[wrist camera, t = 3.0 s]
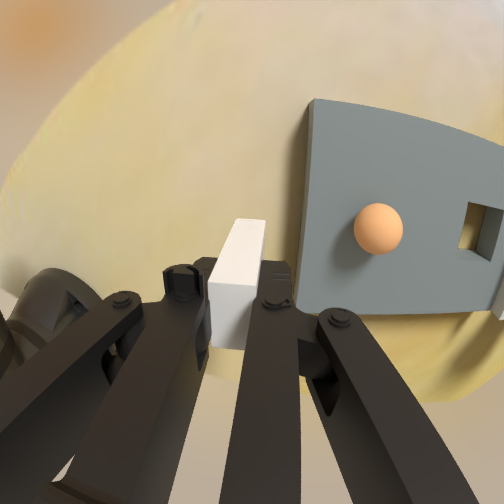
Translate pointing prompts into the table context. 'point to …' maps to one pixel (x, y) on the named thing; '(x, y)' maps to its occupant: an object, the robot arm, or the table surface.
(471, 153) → the board
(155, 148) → the table surface
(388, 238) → the ball
